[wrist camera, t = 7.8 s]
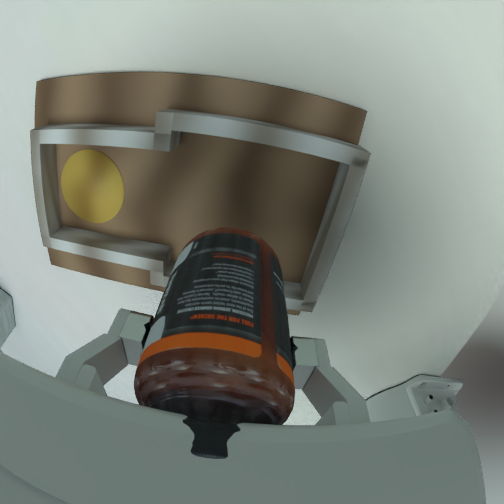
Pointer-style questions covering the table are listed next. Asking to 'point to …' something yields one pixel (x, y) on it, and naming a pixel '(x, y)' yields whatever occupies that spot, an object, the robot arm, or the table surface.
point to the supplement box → (6, 316)
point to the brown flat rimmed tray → (191, 173)
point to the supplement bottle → (220, 340)
